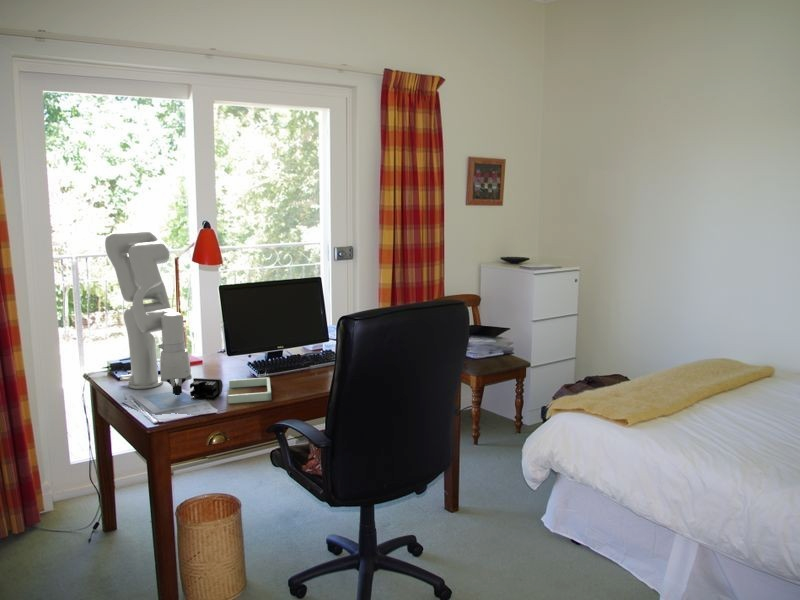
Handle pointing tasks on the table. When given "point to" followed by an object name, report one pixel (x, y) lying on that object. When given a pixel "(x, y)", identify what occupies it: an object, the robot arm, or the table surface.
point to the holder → (250, 396)
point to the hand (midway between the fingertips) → (177, 395)
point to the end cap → (206, 389)
